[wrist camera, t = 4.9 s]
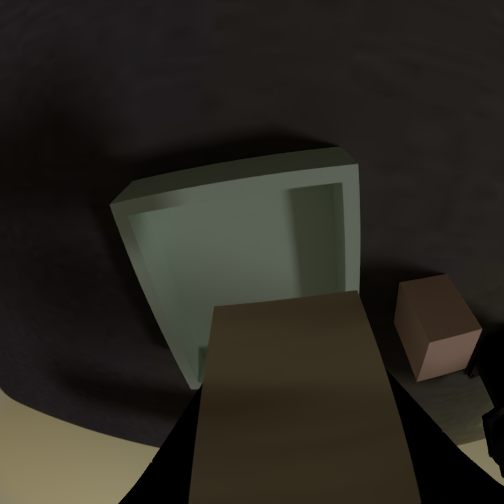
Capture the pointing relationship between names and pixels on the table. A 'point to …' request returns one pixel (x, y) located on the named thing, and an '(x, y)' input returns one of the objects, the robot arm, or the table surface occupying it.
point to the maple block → (298, 409)
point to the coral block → (435, 326)
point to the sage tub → (240, 239)
